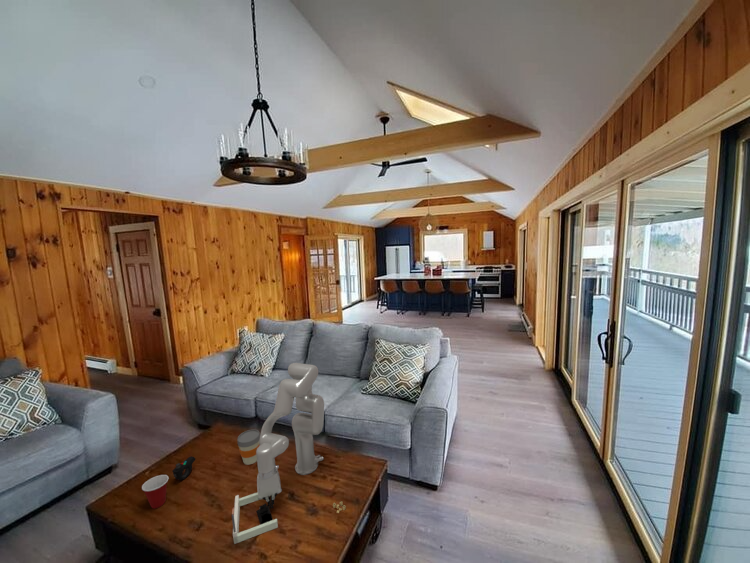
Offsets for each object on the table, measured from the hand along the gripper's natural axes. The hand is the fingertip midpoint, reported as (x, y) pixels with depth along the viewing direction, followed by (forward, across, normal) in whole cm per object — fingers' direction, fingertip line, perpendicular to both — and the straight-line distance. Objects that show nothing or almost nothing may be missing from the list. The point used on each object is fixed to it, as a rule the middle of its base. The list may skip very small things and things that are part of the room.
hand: (271, 506), depth 142 cm
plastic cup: (+2, +52, -29) cm, 60 cm away
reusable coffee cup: (+2, +9, -42) cm, 43 cm away
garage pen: (+2, +7, 0) cm, 7 cm away
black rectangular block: (+3, +3, +1) cm, 5 cm away
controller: (+2, +43, -44) cm, 62 cm away
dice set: (+3, -30, +13) cm, 33 cm away
